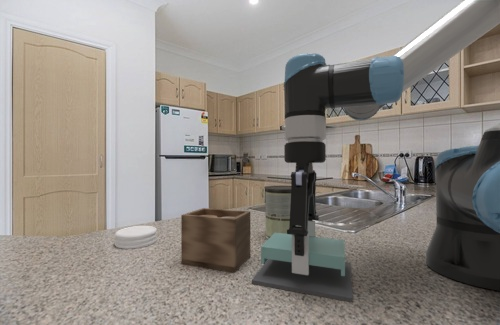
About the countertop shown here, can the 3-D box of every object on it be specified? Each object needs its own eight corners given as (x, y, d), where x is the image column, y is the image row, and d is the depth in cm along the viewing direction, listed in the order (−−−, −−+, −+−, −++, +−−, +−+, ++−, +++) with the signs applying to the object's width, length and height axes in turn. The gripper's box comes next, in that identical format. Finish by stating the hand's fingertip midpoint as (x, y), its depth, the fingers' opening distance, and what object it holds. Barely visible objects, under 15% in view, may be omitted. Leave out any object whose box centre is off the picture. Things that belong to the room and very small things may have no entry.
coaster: (137, 235, 70) (137, 223, 70) (165, 239, 67) (165, 227, 67) (105, 247, 61) (105, 233, 61) (135, 252, 57) (135, 237, 57)
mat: (350, 265, 49) (350, 262, 49) (352, 302, 36) (352, 298, 36) (273, 255, 55) (273, 252, 55) (251, 283, 42) (251, 280, 42)
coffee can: (265, 231, 74) (265, 185, 74) (300, 232, 73) (299, 185, 73) (264, 242, 64) (264, 188, 64) (304, 243, 63) (304, 189, 63)
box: (250, 256, 54) (250, 211, 54) (234, 272, 46) (234, 219, 46) (203, 249, 58) (203, 208, 58) (181, 263, 50) (181, 215, 50)
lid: (344, 255, 47) (344, 239, 47) (345, 276, 39) (344, 257, 39) (274, 246, 52) (274, 232, 52) (261, 263, 44) (261, 246, 44)
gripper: (295, 146, 57) (295, 241, 57) (268, 136, 37) (268, 285, 36) (328, 145, 55) (329, 245, 54) (320, 134, 34) (320, 295, 34)
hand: (304, 261), depth 45 cm, fingers closed on lid, 9 cm apart
